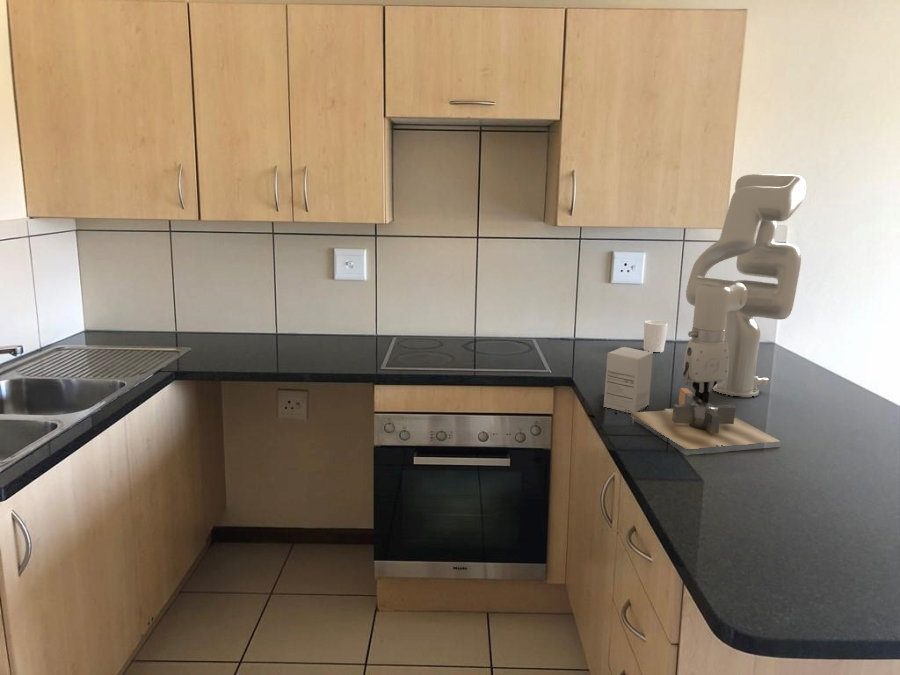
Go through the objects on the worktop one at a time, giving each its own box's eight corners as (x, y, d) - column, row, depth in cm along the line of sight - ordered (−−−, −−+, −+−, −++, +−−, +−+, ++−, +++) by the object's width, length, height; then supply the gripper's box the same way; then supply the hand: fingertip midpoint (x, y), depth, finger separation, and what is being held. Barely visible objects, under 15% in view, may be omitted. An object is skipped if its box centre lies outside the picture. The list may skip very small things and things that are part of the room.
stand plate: (714, 412, 178) (715, 406, 178) (779, 447, 155) (781, 440, 155) (630, 418, 172) (631, 411, 172) (685, 455, 149) (686, 448, 149)
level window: (686, 409, 175) (686, 407, 175) (692, 413, 172) (692, 410, 172) (664, 411, 173) (664, 408, 173) (670, 414, 171) (670, 412, 171)
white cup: (637, 348, 243) (639, 321, 241) (654, 347, 246) (657, 319, 244) (652, 354, 236) (654, 325, 234) (670, 352, 239) (673, 324, 237)
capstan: (654, 405, 177) (656, 387, 176) (708, 406, 177) (710, 388, 176) (683, 435, 156) (685, 415, 155) (744, 436, 157) (747, 416, 156)
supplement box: (617, 399, 187) (622, 345, 183) (649, 407, 181) (654, 351, 178) (602, 407, 180) (606, 352, 176) (634, 415, 174) (639, 358, 171)
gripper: (690, 340, 163) (683, 413, 168) (744, 336, 167) (736, 408, 171) (672, 333, 170) (666, 403, 175) (725, 329, 174) (717, 398, 178)
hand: (700, 405), depth 173 cm, fingers closed
